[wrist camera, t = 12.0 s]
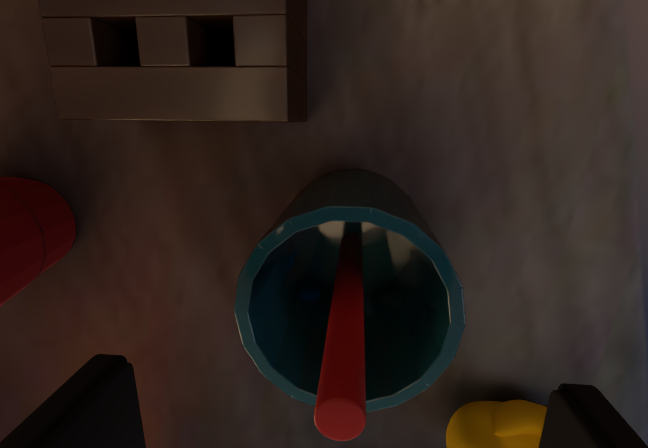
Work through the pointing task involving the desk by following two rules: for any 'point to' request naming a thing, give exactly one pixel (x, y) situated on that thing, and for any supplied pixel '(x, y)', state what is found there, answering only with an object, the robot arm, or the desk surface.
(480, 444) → the duckling
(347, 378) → the straw
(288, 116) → the straw stand
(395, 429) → the desk surface
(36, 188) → the plastic cup
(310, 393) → the tumbler
